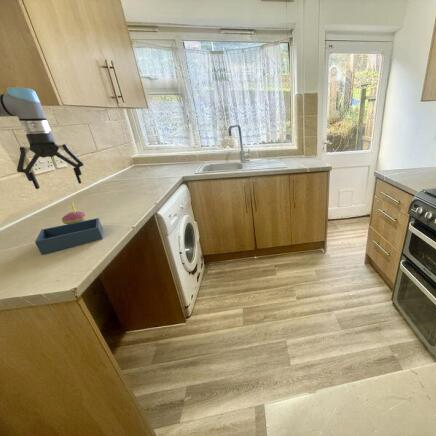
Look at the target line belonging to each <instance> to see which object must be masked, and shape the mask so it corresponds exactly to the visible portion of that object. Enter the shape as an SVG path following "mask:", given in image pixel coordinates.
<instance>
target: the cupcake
mask: <svg viewBox="0 0 436 436" xmlns="http://www.w3.org/2000/svg"><path fill="white" fill-rule="evenodd" d="M70 204H71V207H72V210H73V211H70V212H68V213H67V214H65V215H63V217H62V218H61V221H62V223H63V225H67V224H71V223H76V222H81V221H86V218H88V217H87V214H86V213H85V212H82V211H77V210H76V208H75V204H74V202H73V201H71V203H70Z"/></svg>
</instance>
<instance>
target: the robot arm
mask: <svg viewBox="0 0 436 436" xmlns="http://www.w3.org/2000/svg"><path fill="white" fill-rule="evenodd" d="M36 92H37V91H35V90H34V89H32V88H28V87H6V93H0V117H4V118H5V117H17V118H18V121H19V122H20V125H21V128H22V130H23V132H24V133H26V134H25V138H26V139H27V142H28V144H29V146H20V147H19V152H20V155H19V158H18V163H17V167H16V172H17V173H23V174H25V176H26V179H27V180H28V182H32V184H33V186H34V188H35V190H39V189H40V188H41V187H40V185H39V182H38V180H37V178H36V175H35V172H34V171H32V169H33V167H34V166H35V164H36V163H37V161H38V160H39V159H40V158H47V157H48V158H54V157H57V158H59V159H61V160H62V161H64V162H65V163H67V164H69V165H70V166H71V167H73V173H74V175H75V177H76V180H77V182H78V184H79V185H80V184H82V180H81V177H80V176H82V174H83V173H82V170H81V167H83V166H84V162H83V161H82V160H81V159H80V158H79V157H78V156H77V155H76V154H74V153H73V152H72V150H70V149H69V147H68V145H67V144H66V143H63V144H57V143H56V140H55V138H54V135H53V133H52V130H51V127H50V125H49V122H48V120H47V118H46V115H45V112H44V109H43V106H42V103H41V100H40V99H39V97H38V95H37V93H36ZM59 150H62V151H65V153H66V154H67V155H69V157H70V158H72V159H73V160H74V161H75V162H74V161H73V160H71V159H69V157H66V156H65V155H63V154H62V153H61V152H59ZM29 151H30V152H32V153H34V155H33V157H32V158H31V160H30V161H29V162H28V164H27V165H26V168H24V167H25V163H26V158H27V154H28V153H29Z"/></svg>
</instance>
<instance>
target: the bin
mask: <svg viewBox="0 0 436 436" xmlns="http://www.w3.org/2000/svg"><path fill="white" fill-rule="evenodd" d="M103 231H104V228H103V225H102V223H101V220H100V218H99V217H96V218H92V219H91V218H90V219H87V220H86V219H85V221H81V222H76V223H71V224H63V225H62V224H61V225H57V226H53V227H52V226H51V227H48V228H43V229H40V232H39V233H38V235H37V237H36V239H35V240H34V243H35V245H36V246H37V249H38V251H39V252H40V255H46V254H51V253H55V252H57V251H63V250H67V249H71V248H75V247H79V246H83V245H86V244H91V243H94V242H98V241H102V240H103V239H104V238H103V237H104V235H103V234H104V232H103Z"/></svg>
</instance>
